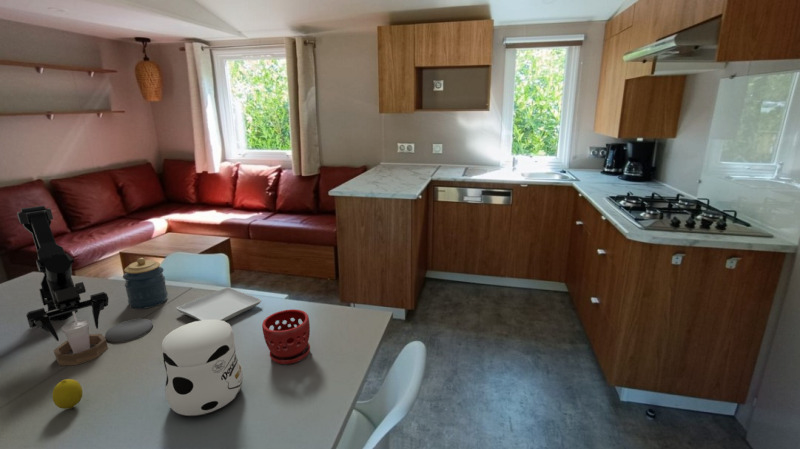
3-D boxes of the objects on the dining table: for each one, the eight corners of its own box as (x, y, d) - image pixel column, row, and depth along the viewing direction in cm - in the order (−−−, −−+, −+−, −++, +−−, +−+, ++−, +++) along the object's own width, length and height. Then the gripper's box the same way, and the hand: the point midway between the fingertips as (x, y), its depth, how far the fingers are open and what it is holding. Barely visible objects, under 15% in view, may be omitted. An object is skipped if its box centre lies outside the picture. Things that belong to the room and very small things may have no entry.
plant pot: (296, 338, 128) (294, 304, 124) (320, 355, 119) (317, 319, 115) (258, 355, 119) (253, 318, 116) (279, 375, 110) (276, 336, 107)
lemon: (67, 400, 100) (59, 373, 98) (90, 399, 101) (83, 372, 99) (50, 417, 95) (42, 388, 93) (75, 415, 96) (67, 386, 93)
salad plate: (264, 307, 149) (263, 298, 148) (211, 333, 131) (210, 323, 130) (228, 294, 160) (227, 286, 159) (175, 316, 142) (174, 307, 141)
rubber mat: (120, 322, 138) (120, 319, 138) (160, 320, 139) (159, 317, 138) (96, 343, 125) (95, 340, 125) (139, 341, 126) (139, 338, 126)
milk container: (256, 397, 101) (248, 334, 96) (183, 435, 89) (170, 366, 85) (227, 368, 113) (219, 310, 108) (159, 398, 101) (146, 335, 96)
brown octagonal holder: (75, 343, 125) (73, 335, 124) (114, 341, 126) (112, 333, 125) (47, 366, 114) (44, 357, 113) (90, 364, 115) (87, 355, 114)
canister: (155, 309, 146) (147, 264, 142) (120, 309, 147) (110, 264, 142) (175, 294, 159) (168, 252, 154) (143, 293, 159) (134, 252, 154)
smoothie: (81, 361, 116) (70, 317, 113) (63, 358, 118) (51, 315, 114) (101, 348, 122) (91, 307, 119) (83, 346, 124) (73, 305, 120)
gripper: (18, 286, 110) (33, 337, 105) (100, 267, 123) (117, 311, 118) (22, 303, 117) (37, 351, 113) (99, 283, 130) (115, 326, 126)
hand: (78, 334), depth 117 cm, fingers open, 9 cm apart
